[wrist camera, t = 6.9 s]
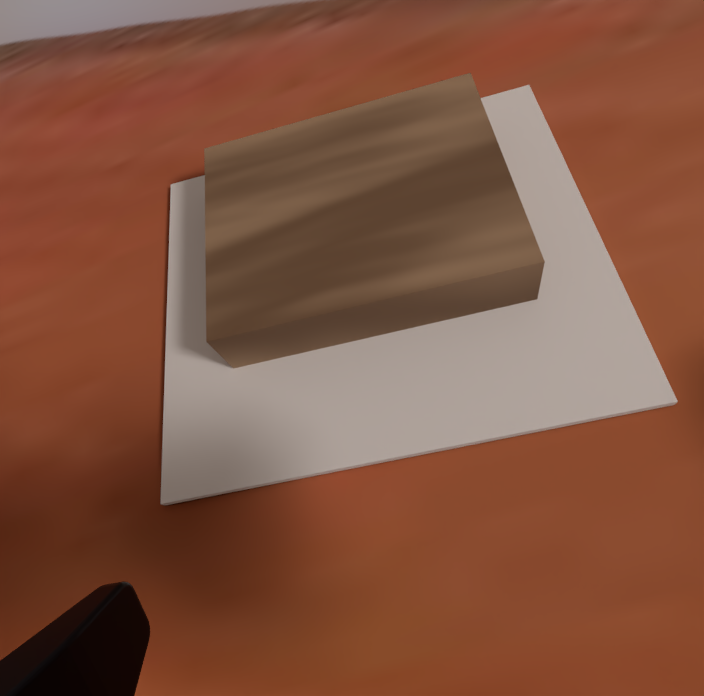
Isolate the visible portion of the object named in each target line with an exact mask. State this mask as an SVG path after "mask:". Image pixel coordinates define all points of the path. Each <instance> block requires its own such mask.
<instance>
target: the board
mask: <svg viewBox="0 0 704 696" xmlns="http://www.w3.org/2000/svg"><path fill="white" fill-rule="evenodd" d="M204 152H205V258H206V342H207V343H208V344H209V345H210V346H211V347H212V348H213V349H214V350H215V351H216V352H217V353H218V354H219V355H220V356H221V357H222V358H223V359H224V360H225V361H226V362H227V363H228V364H229V365H230V366H231V367H232V368H233V369H234V368H238V367H243V366H247V365H251V364H256V363H260V362H265V361H269V360H273V359H278V358H282V357H286V356H291V355H295V354H300V353H304V352H308V351H313V350H317V349H322V348H326V347H330V346H335V345H339V344H343V343H348V342H352V341H357V340H361V339H365V338H370V337H374V336H378V335H383V334H387V333H392V332H396V331H400V330H405V329H409V328H414V327H418V326H422V325H427V324H431V323H435V322H440V321H444V320H449V319H453V318H457V317H462V316H466V315H471V314H475V313H479V312H484V311H488V310H492V309H497V308H501V307H506V306H510V305H514V304H519V303H523V302H528V301H532V300H536V299H537V298H538V293H539V288H540V283H541V278H542V273H543V268H544V263H545V261H544V259H543V256H542V253H541V251H540V248H539V246H538V243H537V241H536V238H535V236H534V233H533V231H532V228H531V225H530V223H529V220H528V218H527V215H526V213H525V210H524V208H523V205H522V203H521V200H520V197H519V195H518V192H517V190H516V187H515V185H514V182H513V180H512V177H511V175H510V172H509V170H508V167H507V164H506V162H505V159H504V157H503V154H502V152H501V149H500V147H499V144H498V142H497V139H496V136H495V134H494V131H493V129H492V126H491V124H490V121H489V119H488V116H487V114H486V111H485V108H484V106H483V103H482V101H481V98H480V96H479V93H478V91H477V88H476V86H475V83H474V80H473V78H472V75H471V73H468V74H465V75H461V76H458V77H454V78H451V79H447V80H444V81H440V82H437V83H433V84H430V85H426V86H423V87H419V88H416V89H412V90H409V91H405V92H402V93H398V94H395V95H391V96H388V97H384V98H381V99H377V100H374V101H370V102H367V103H363V104H360V105H356V106H353V107H349V108H346V109H342V110H338V111H335V112H331V113H328V114H324V115H321V116H317V117H314V118H310V119H307V120H303V121H300V122H296V123H293V124H289V125H286V126H282V127H279V128H275V129H272V130H268V131H265V132H261V133H258V134H254V135H251V136H247V137H244V138H240V139H237V140H233V141H230V142H226V143H223V144H219V145H216V146H212V147H209V148H205V149H204Z"/></svg>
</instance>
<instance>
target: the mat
mask: <svg viewBox="0 0 704 696" xmlns="http://www.w3.org/2000/svg"><path fill="white" fill-rule="evenodd" d="M481 101H482V103H483V106H484V108H485V111H486V114H487V116H488V119H489V121H490V124H491V126H492V129H493V131H494V134H495V136H496V139H497V142H498V144H499V147H500V149H501V152H502V154H503V157H504V159H505V162H506V164H507V167H508V170H509V172H510V175H511V177H512V180H513V182H514V185H515V187H516V190H517V192H518V195H519V197H520V200H521V203H522V205H523V208H524V210H525V213H526V215H527V218H528V220H529V223H530V225H531V228H532V231H533V233H534V236H535V238H536V241H537V243H538V246H539V248H540V251H541V253H542V256H543V259H544V261H545V263H544V268H543V273H542V278H541V283H540V288H539V293H538V298H537V299H536V300H532V301H528V302H523V303H519V304H514V305H510V306H506V307H501V308H497V309H492V310H488V311H484V312H479V313H475V314H471V315H466V316H462V317H457V318H453V319H449V320H444V321H440V322H435V323H431V324H427V325H422V326H418V327H414V328H409V329H405V330H400V331H396V332H392V333H387V334H383V335H378V336H374V337H370V338H365V339H361V340H357V341H352V342H348V343H343V344H339V345H335V346H330V347H326V348H322V349H317V350H313V351H308V352H304V353H300V354H295V355H291V356H286V357H282V358H278V359H273V360H269V361H265V362H260V363H256V364H251V365H247V366H243V367H238V368H234V369H233V368H232V367H231V366H230V365H229V364H228V363H227V362H226V361H225V360H224V359H223V358H222V357H221V356H220V355H219V354H218V353H217V352H216V351H215V350H214V349H213V348H212V347H211V346H210V345H209V344H208V343H207V342H206V258H205V175H203V176H200V177H196V178H192V179H189V180H185V181H182V182H178V183H174V184H171V197H170V227H169V258H168V289H167V319H166V350H165V381H164V411H163V442H162V473H161V503H160V504H162V505H170V504H175V503H180V502H185V501H190V500H195V499H200V498H205V497H210V496H215V495H220V494H226V493H231V492H236V491H241V490H246V489H251V488H256V487H261V486H266V485H271V484H276V483H281V482H286V481H291V480H296V479H301V478H306V477H312V476H317V475H322V474H327V473H332V472H337V471H342V470H347V469H352V468H357V467H362V466H367V465H372V464H377V463H382V462H387V461H393V460H398V459H403V458H408V457H413V456H418V455H423V454H428V453H433V452H438V451H443V450H448V449H453V448H458V447H463V446H468V445H474V444H479V443H484V442H489V441H494V440H499V439H504V438H509V437H514V436H519V435H524V434H529V433H534V432H539V431H544V430H549V429H554V428H560V427H565V426H570V425H575V424H580V423H585V422H590V421H595V420H600V419H605V418H610V417H615V416H620V415H625V414H630V413H635V412H641V411H646V410H651V409H656V408H661V407H666V406H671V405H675V404H676V403H677V402H678V401H677V399H676V397H675V395H674V393H673V390H672V388H671V386H670V384H669V382H668V380H667V378H666V376H665V373H664V371H663V369H662V367H661V365H660V363H659V361H658V359H657V356H656V354H655V352H654V350H653V348H652V346H651V344H650V341H649V339H648V337H647V335H646V333H645V331H644V329H643V327H642V324H641V322H640V320H639V318H638V316H637V314H636V312H635V310H634V307H633V305H632V303H631V301H630V299H629V297H628V295H627V292H626V290H625V288H624V286H623V284H622V282H621V280H620V278H619V275H618V273H617V271H616V269H615V267H614V265H613V263H612V261H611V258H610V256H609V254H608V252H607V250H606V248H605V246H604V243H603V241H602V239H601V237H600V235H599V233H598V231H597V229H596V226H595V224H594V222H593V220H592V218H591V216H590V214H589V212H588V209H587V207H586V205H585V203H584V201H583V199H582V197H581V194H580V192H579V190H578V188H577V186H576V184H575V182H574V180H573V177H572V175H571V173H570V171H569V169H568V167H567V165H566V162H565V160H564V158H563V156H562V154H561V152H560V150H559V148H558V145H557V143H556V141H555V139H554V137H553V135H552V133H551V131H550V128H549V126H548V124H547V122H546V120H545V118H544V116H543V113H542V111H541V109H540V107H539V105H538V103H537V101H536V99H535V96H534V94H533V92H532V90H531V88H530V86H529V85H527V86H523V87H520V88H516V89H512V90H509V91H505V92H502V93H498V94H494V95H491V96H487V97H484V98H481Z"/></svg>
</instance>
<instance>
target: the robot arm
mask: <svg viewBox="0 0 704 696" xmlns="http://www.w3.org/2000/svg"><path fill="white" fill-rule="evenodd" d="M149 637H150V626H149V621H148V619H147V616H146V614H145V612H144V610H143V608H142V605H141V603H140V601H139V599H138V597H137V594H136V592H135V590H134V588H133V586H132V585H131V584H129V583H128V582H118V583H112V584H107V585H103V586H101V587H99V588H97V589H96V590H95V591H93V592H92V593H91V594H89V595H88V596H87V597H85V598H84V599H83V600H81V601H80V602H78V603H77V604H76V605H74V606H73V607H72V608H70V609H69V610H68V611H66V612H65V613H64V614H62V615H61V616H60V617H58V618H57V619H56V620H54V621H53V622H52V623H50V624H49V625H48V626H46V627H45V628H44V629H42V630H41V631H40V632H38V633H37V634H36V635H34V636H33V637H32V638H30V639H29V640H28V641H26V642H25V643H24V644H22V645H21V646H20V647H18V648H17V649H15V650H14V651H13V652H11V653H10V654H9V655H7V656H6V657H5V658H3V659H2V660H1V661H0V696H134V695H135V691H136V687H137V683H138V680H139V676H140V672H141V668H142V665H143V661H144V657H145V653H146V650H147V646H148V642H149Z"/></svg>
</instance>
